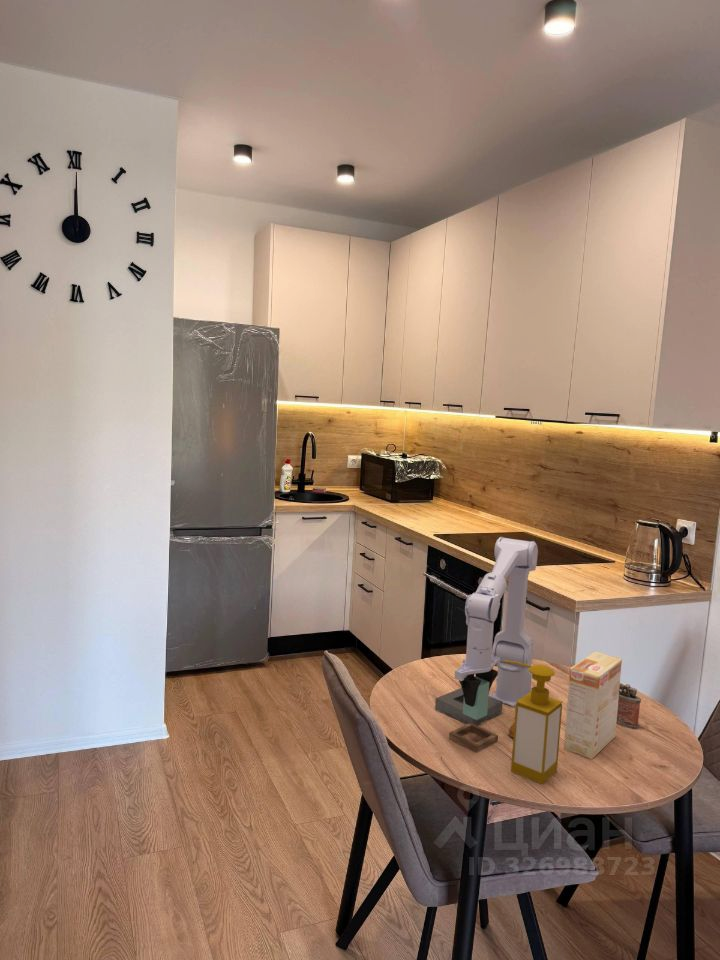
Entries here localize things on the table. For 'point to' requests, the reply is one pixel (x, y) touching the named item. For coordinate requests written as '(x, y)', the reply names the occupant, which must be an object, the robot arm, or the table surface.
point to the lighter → (628, 707)
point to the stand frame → (457, 737)
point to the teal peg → (478, 702)
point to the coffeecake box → (592, 704)
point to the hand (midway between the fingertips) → (475, 702)
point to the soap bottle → (536, 729)
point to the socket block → (454, 707)
